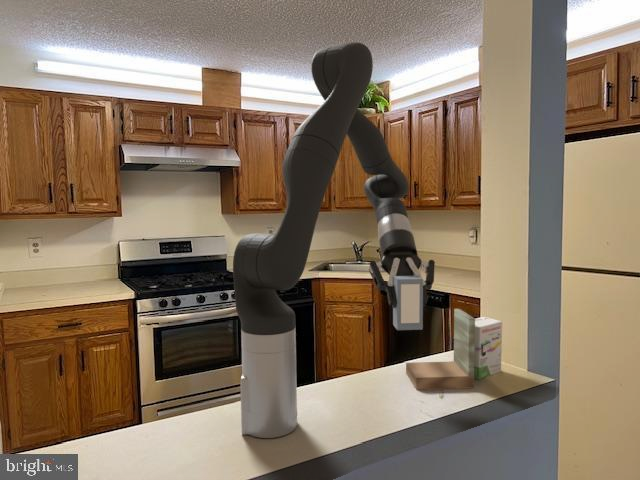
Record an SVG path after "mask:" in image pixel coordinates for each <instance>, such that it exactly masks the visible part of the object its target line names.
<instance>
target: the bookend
mask: <svg viewBox="0 0 640 480" xmlns="http://www.w3.org/2000/svg"><path fill="white" fill-rule="evenodd" d="M453 310H454V311H453V312H454V313H453V360H452V361H425V362H424V361H422V362H417V361H416V362H406V363H405V367H406V368H405V373H406V376H407V378H408V379H409V381H410V382H411V385H413V387H414V388H415V390H416V391H417V390H418V391H419V390H443V389H444V390H448V389H474V388H475V378H474V349H475V319H476V318H475V317H473V316H472V315H471V314H468V313H467V312H466V311H464V310H463V309H461V308H454V309H453Z"/></svg>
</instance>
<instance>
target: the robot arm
mask: <svg viewBox="0 0 640 480" xmlns="http://www.w3.org/2000/svg"><path fill="white" fill-rule="evenodd" d="M373 65H374V63H373V56H372V52H371V50H370V48H369V47H368V46H367V45H366V44H364V43H361V42H348V43H346V42H345V43H342V44H337V45H332V46H328V47H323V48H321V49H318V50H317V51H316V52H315V53H314V55H313V57H312V60H311V65H310V68H311V75H312V76H311V77H312V80H313V82H314V85H315V87H316V89H317V90H318V92H319V93H320V96H321V97H322V98H323V100H324V101H323V102H322V103H321V104H320V105H319V106H318V107H317V108H316V109H315V110H314V111H313V112H312V113H311V114H309V116H308V117H307V118H306V119H305V120H304V121H302V123H301V124H300V125H299V126H298V127H297V129H296V131H295V132H294V134H293V135H292V137H291V140H290V143H289V145H288V147H287V150H286V153H285V155H284V158H283V161H282V167H281V168H282V169H281V172H282V180H283V184H284V188H285V192H286V208H285V211H284V214H283V217H282V220H281V222H280V225H279V227H278V229H277V231H276V232H275V233H262V232H261V233H249V234H246V235H244V236H243V237H242V238H241V239H240V240H239V241H238V243H237V245H236V247H235V249H234V253H233V257H232V259H233V260H232V276H233V277H232V278H233V290H234V303H235V304H234V305H235V309H236V313H237V315H238V318H239V320H240V333H241V335H240V337H241V339H240V340H241V372H242V374H241V377H240V416H241V417H240V418H241V420H240V421H241V435H249V436H252V437H254V438H255V437H256V438H260V439H261V438H262V439H273V438H274V439H275V438H279V437H284V436H286V435H288V434H290V433H292V432H294V430H296V429H297V426H298V403H297V401H298V398H297V397H298V394H297V390H298V388H297V339H296V338H297V337H296V336H297V333H296V330H297V329H296V327H297V326H296V325H297V324H296V313H295V311H294V310H293V309H292V307H290V306H289V305H288V304H286V303H285V302H284V301H283V300H282V299H281V298H280V297H279V295H278V293H277V291H289V290H290V289H292V288H294V287H295V286H296V285H297V284H298V282H299V280H300V279H301V278H302V275H303V273H304V271H305V268H306V264H307V262H308V257H309V253H310V249H311V245H312V242H313V241H312V240H313V237H314V233H315V228H316V226H317V221H318V218H319V214H320V212H321V207H322V205H323V202H324V198H325V196H326V193H327V190H328V188H329V187H328V186H329V184H330V182H331V179H332V177H333V174H334V172H335V169H336V166H337V163H338V161H339V157H340V155H341V154H340V153H341V151H342V148H343V144H344V142H345V139H346V137H348V139H349V141H350V144H351V146H352V147H353V150H354V152H355V155H356V157H357V159H358V161H359V164H360V166H361V168H362V170H363V172H364V173H365V174H367V175H369V176H371V177H369V178H368V179H366V181H365V183H364V185H363V191H364V194H365V196H366V198H367V200H368V202H369V203H370V206H372V208H373V211H374V213H375V218H376V225H377V235H378V238H377V240H378V243H379V250H380V253H381V261H378V262H377V261H375V260H371V261H370V262H369V266H368V271H369V274H370V276H371V278H372V280H373V282H374V285H375V288H376V289H377V290H378V291H379V292H380V291H384V292H385V293H386V295H387V302H388V305H389V306H391V307H392V309H393V308H396V306H397V298H396V293H395V287H393V285H394V281H393V276H419V277H421V278H422V279H423V308H425V306H426V305H427V303H428V299H429V296H428V292H427V290H428V291H429V290H432V286H433V284H434V282H435V281H434V280H435V266H436V265H435V264H436V263H435V261H434V259H429V260H428V261H425V260H422V259H421V258H420V256H419V255H418V250H417V246H416V242H415V237H414V232H413V227H412V225H411V223H410V220H409V217H408V212H407V207H406V205H405V202H404V201H403V200H402V198H404V197H406V195H407V194H408V192H409V190H410V187H409V186H410V185H409V184H410V183H409V181H408V178H407V176H406V175H405V173H404V172H403V171H402V169H401V168H399V166H398V165H397V164H396V163H395V161H394V160H393V158H392V155H391V154H390V151H389V148H388V146H387V142H386V140H385V138H384V135H383V134H382V132H381V130H380V129H379V127H378V126H376V124H375V123H374V122H373V121H372V120H370V119H369V117H367V115H365V113H363V112H362V111H361V110H359V106H360V104H361V102H362V100H363V99H364V96H365V94H366V92H367V90H368V87H369V85H370V82H371V79H372V75H373ZM420 268H422V270H423V272H424V273H425V275H426V276H425V280H424V278H423V276H422V273H421V272H420V270H419V269H420ZM381 269H382V270H384V271H385V272H386V274H387V275H389V276H388V281H386V280H384V277H383V275H382V274H381Z"/></svg>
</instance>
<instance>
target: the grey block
mask: <svg viewBox="0 0 640 480" xmlns="http://www.w3.org/2000/svg"><path fill="white" fill-rule="evenodd" d="M421 277H422V276H421ZM421 277H419V276H393V281H394V285H393V287H395V293H396V298H397V306H396V308H392V325H393V326H394V328H395V330H397V331H413V330H414V331H418V330H419V331H421V330H423V328H424V324H423V323H424V321H423V320H424V319H423V318H424V317H423V316H424V307H423V280H424V278H423V277H422V278H423V279H422V278H421Z"/></svg>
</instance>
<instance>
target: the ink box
mask: <svg viewBox="0 0 640 480" xmlns="http://www.w3.org/2000/svg"><path fill="white" fill-rule="evenodd" d="M502 338H503V321H502V320H498V319H494V318H491V317H487V316H481V317H477V318H475V349H474V379H477V380H482V379H485V378H487V377H489V376H492V375H494V374H497V373H500V372H502V353H503V352H502V350H503V347H502V346H503V345H502V343H503V339H502Z"/></svg>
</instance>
